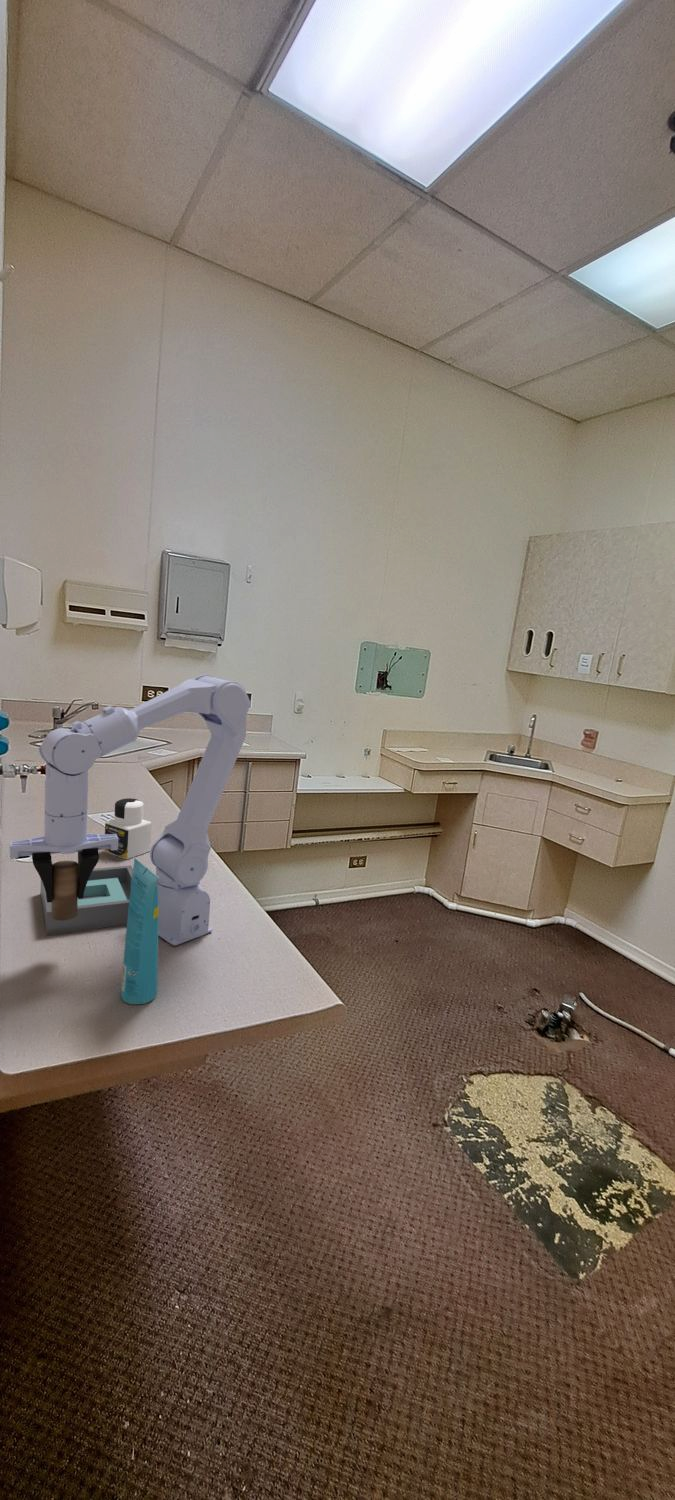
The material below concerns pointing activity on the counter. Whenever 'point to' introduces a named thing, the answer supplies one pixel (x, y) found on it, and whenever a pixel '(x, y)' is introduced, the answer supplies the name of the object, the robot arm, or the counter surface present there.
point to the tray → (93, 910)
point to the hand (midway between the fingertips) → (64, 897)
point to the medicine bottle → (129, 829)
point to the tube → (141, 938)
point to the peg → (64, 890)
